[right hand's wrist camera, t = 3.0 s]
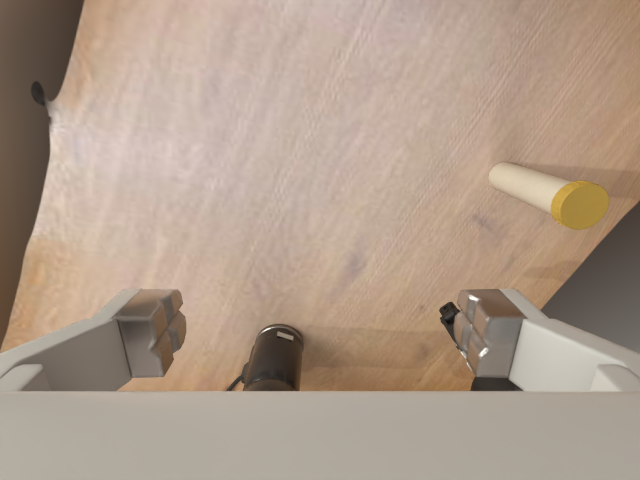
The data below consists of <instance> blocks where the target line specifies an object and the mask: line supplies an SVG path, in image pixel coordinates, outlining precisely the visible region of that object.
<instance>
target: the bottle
mask: <svg viewBox="0 0 640 480" xmlns="http://www.w3.org/2000/svg"><path fill="white" fill-rule="evenodd" d="M571 182H573V181H570V180H566V179H563V178H560V177H556V176H553V175H550V174H546V173H543V172H540V171H536V170H533V169H530V168H526V167H523V166H519V165H516V164H513V163H509V162H501V163H498V164H497V165H495V166H494V167H493V168H492V169H491V171H490V173H489V183H490V185H491V186H492V187H493V188H495V189H497V190H499V191H501V192H503V193H505V194H507V195H509V196H512V197H514V198H516V199H518V200H520V201H522V202H524V203H526V204H528V205H531V206H533V207H535V208H537V209H539V210H541V211H543V212H545V213H547V214H550V215H552V214H551V203H552V199H553V198H554V196H555V194H556V193H557V192H558V191H559V190H560V188H562V187H563V186H565V185H566V184H569V183H571Z"/></svg>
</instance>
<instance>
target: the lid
mask: <svg viewBox="0 0 640 480" xmlns="http://www.w3.org/2000/svg"><path fill="white" fill-rule="evenodd" d="M608 205H609V197H608V194H607V192H606V190H605V189H604V188H603V187H601V186H599V185H597V184H594V183H592V182H588V181H580V180H578V181H575V182H571V183H569V184H566V185H565V186H563V187H562V188H560V190H559V191H558V192H557V193H556V194H555V196H554V198H553V199H552V203H551V214H552V217H553V218H554V219H555V221H557V222H559V224H561V225H563V226H565V227H566V226H567V227H569V228H571V229H576V230H580V229H585V228H588V227H591V226H593V225H594V224H596V223H597V222H598V221H599V220H601V218H602V217H603V216H604V215H605V213H606V211H607V209H608Z"/></svg>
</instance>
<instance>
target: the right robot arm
mask: <svg viewBox="0 0 640 480" xmlns="http://www.w3.org/2000/svg"><path fill="white" fill-rule="evenodd" d="M182 304H183V301H182V296H181V293H180V292H179V291H178V290H167V289H124V290H122V291H121V292H120V293H119V294H118V295H116V296H115V297H114V298H113V299H112V300H111V301H110V302H109V303H108V304H107V305H106V306H104V307H103V308H102V309H101V310H100V311H99V312H98V313H97V314H96V315H95V316H94V317H92V318H91V319H84V320H81V321H79V322H77V323H74V324H72V325H69V326H67V327H64V328H62V329H59V330H57V331H54V332H52V333H49V334H47V335H45V336H42V337H40V338H37V339H35V340H32V341H30V342H27V343H25V344H22V345H20V346H17V347H15V348H13V349H10V350H8V351H5V352H3V353H0V480H640V353H637V352H635V351H632V350H630V349H627V348H625V347H622V346H620V345H617V344H615V343H613V342H610V341H608V340H605V339H603V338H600V337H598V336H595V335H593V334H590V333H588V332H586V331H583V330H581V329H578V328H576V327H573V326H571V325H568V324H566V323H563V322H561V321H559V320H556V319H549V318H548V317H546V316H545V315H544V314H543V313H542V312H541V311H540V310H539V309H538V308H537V307H536V306H535V305H533V304H532V303H531V302H530V301H529V300H528V299H527V298H526V297H525V296H524V295H523V294H521V293H520V292H519V291H518V290H516V289H479V290H461V291H460V293H459V295H458V301H457V304H458V306H459V307H460V309H461V311H460V312H459V313H458V314H457V315H456V316H455V319H454V336H455V339H456V343H457V344H458V346H459V348H460V349H461V350H463V351H464V352H466V353H467V358H466V360H467V362H468V364H469V365H470V367H471V369H472V371H473V372H474V374H475V376H476V377H495V378H509V380H510V381H511V382H513V383H514V384H515V385H517V386H518V387H519V388H521V389H522V390H523V391H117V390H118V389H119V388H121V387H122V386H123V385H125V384H126V383H127V382H129V381H130V380H131V378H144V377H164V376H165V374H166V372H167V371H168V369H169V367H170V365H171V364H172V362H173V360H174V358H173V353H174V352H176V351H177V350H179V349H180V348H181V346H182V344H183V343H184V339H185V335H186V319H185V316H184V315H183V314H182V313H181V312H180V311H179V309H180V307H181V306H182Z"/></svg>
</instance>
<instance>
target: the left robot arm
mask: <svg viewBox="0 0 640 480" xmlns="http://www.w3.org/2000/svg"><path fill="white" fill-rule="evenodd" d="M439 311H440V313H441V315H442V317H441V318H440V319H441V322H442V324H444V326H445V327H446V329H447V331H448V332H449V334H450V336H451V337H452V339H453V341H454V343H455V345H456V347H457V348H458V350H460V352H461V353H462V355H463V356H464V357H465V359H466V358H467V353H466V352H464V351H463V350H461V349H460V348H459V346H458V344H457V343H456V339H455V336H454V319H455V316H456V315H457V314H458V313H459V312H460V311H459V309H457V308H456V306H455V305H454V304H453V303H452V302H448V303H447V304H445V305H444V306H443V307H441V308H440V310H439ZM302 352H303V340H302V337H301V335H300V334H299V333H298V332H297V331H296V330H295V329H293V328H292V327H290V326H287V325H282V324H275V325H270V326H268V327H266V328H264V329H263V330H261V332H260V333H259V334H258V336H257V338H256V342H255V345H254V346H253V348H252V351H251V355H250V358H249V362H248V363H246V364H245V365H244V368H243V371H242V375H241V376H240V377H238V378H237V379H236V380H235V381H234V382H233V383H232V385H231V386H230V387H229V388H228V389H227V391H231V390H232V388H233V387H234V386H235V385H236V384H237V383H238V382H239V381H240V380H241V381H242V383H244V388H243V391H299V390H300V376H301V363H302ZM467 365H468V366H469V368H470V369H471V367H470V365H469V364H468V362H467ZM471 371H472V369H471ZM472 372H473V371H472ZM473 373H474V372H473ZM471 391H523V390H522V389H521V388H519V387H518V386H517V385H515V384H514V383H513V382H511V381H510V380H509V378H495V377H476V376H475V378H474V380H473V382H472V386H471Z"/></svg>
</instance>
